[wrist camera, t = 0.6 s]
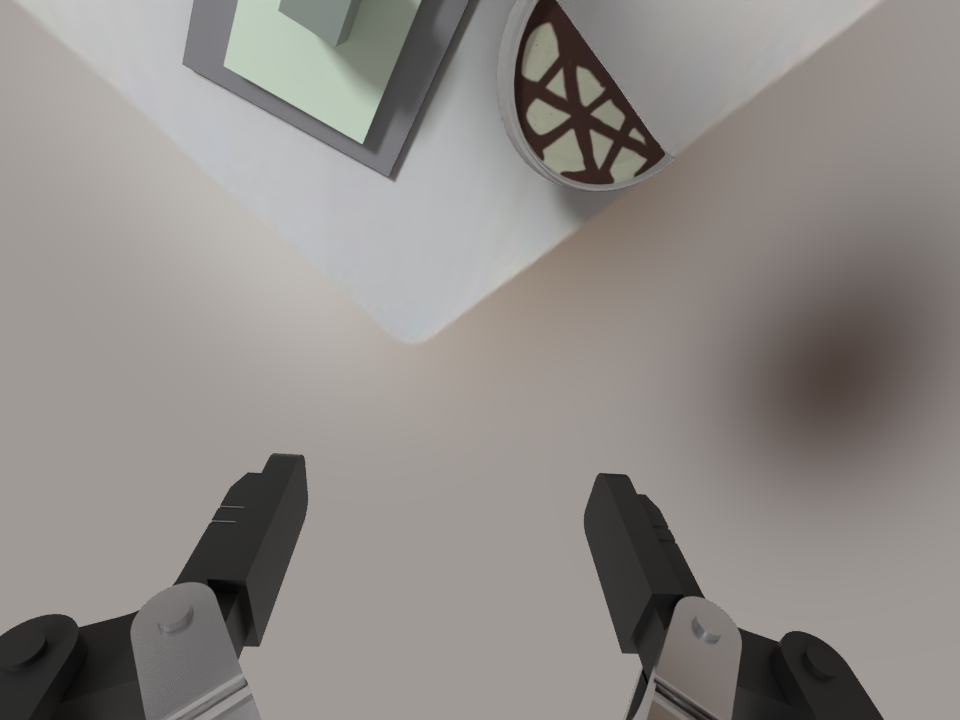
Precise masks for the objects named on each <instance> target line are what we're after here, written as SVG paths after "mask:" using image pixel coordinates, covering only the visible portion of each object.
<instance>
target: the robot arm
mask: <svg viewBox="0 0 960 720" xmlns="http://www.w3.org/2000/svg"><path fill="white" fill-rule="evenodd" d="M307 505H308V491H307V479H306V468H305V459H304V456H303V455H294V454H277V453H274V454H272V455H271V456H270V458H269V460H268V461H267V463H266V465H265V467H264V469H263V471H262V473H247V474H246V475H244V476H243V477H242V478H241V479H240V480H239V481H237V482H236V483H235V484H234V485H233V486H231V488H230V489H229V491H228V493H227V494H226V496H225V498H224V500H223V501H222V503H221V506H220V508H218V510H217V512H216V513H215V515H214V517H213V519H212V522H211V523H210V524H209V525H208V527H207V529H206V531H205V533H204V534H203V536H202V537H201V539H200V541H199V543H198V545H197V546H196V548H195V550H194V551H193V553H192V555H191V557H190V558H189V560H188V562H187V563H186V565H185V567H184V569H183V570H182V572H181V574H180V575H179V577H178V579H177V581H176V582H175V583H174V584H173V586H171V587H169V588H167V589H165V590H163V591H161V592H159V593H158V594H156V595H155V596H154V597H152V598H151V599H150V600H149V601H147V603H146V604H145V605H144V606H143V607H142V608H141V609H140V610H139V611H137V612H134V613H131V614H128V615H125V616H121V617H118V618H114V619H110V620H106V621H102V622H98V623H94V624H90V625H87V626H83V627H78V626H77V624H76V622H75V621H74V620H73V619H72V618H70V617H68V616H66V615H61V614H51V615H44V616H40V617H36V618H34V619H30V620H28V621H26V622H23V623H21V624H19V625H17V626H16V627H14V628H12V629H10V630H9V631H7V632H6V633H4V634H3V635H1V636H0V720H261V718H260V715H259V713H258V710H257V707H256V704H255V702H254V699H253V696H252V693H251V690H250V688H249V685H248V683H247V681H246V680H245V678H244V675H243V673H242V670H241V667H240V664H239V661H238V660H239V657H240V654H241V652H242V649H243V647H244V646H256V647H258V646H260V643H261V641H262V638H263V635H264V632H265V629H266V626H267V624H268V621H269V618H270V615H271V612H272V610H273V607H274V604H275V601H276V598H277V596H278V593H279V590H280V587H281V584H282V581H283V579H284V576H285V573H286V570H287V568H288V565H289V562H290V559H291V556H292V554H293V551H294V548H295V545H296V542H297V540H298V537H299V534H300V531H301V528H302V525H303V523H304V520H305V516H306V511H307ZM584 529H585V534H586V537H587V540H588V543H589V547H590V550H591V554H592V557H593V560H594V563H595V566H596V570H597V573H598V576H599V580H600V582H601V586H602V589H603V592H604V596H605V599H606V602H607V605H608V609H609V612H610V615H611V619H612V622H613V625H614V628H615V632H616V635H617V638H618V642H619V645H620V648H621V651H622V653H631V654H634V653H635V654H639V657H640V660H641V663H642V667H641V669H640V671H639V674H638V677H637V680H636V683H635V686H634V689H633V692H632V695H631V698H630V700H629V704H628V706H627V710H626V712H625V716H624V718H623V720H884V719H883V718H882V716H881V714H880V713H879V711H878V710H877V708H876V707H875V706H874V704H873V702H872V701H871V699H870V697H869V696H868V694H867V693H866V691H865V690H864V688H863V687H862V685H861V684H860V682H859V681H858V679H857V678H856V676H855V675H854V673H853V671H852V670H851V668H850V667H849V666H848V664H847V663H846V661H845V660H844V659H843V658H842V657H841V656H840V655H839V654H838V653H837V652H836V651H835V650H834V649H833V648H832V647H830V646H829V645H828V644H827V643H825V642H824V641H822V640H820V639H819V638H817V637H815V636H813V635H811V634H808V633H805V632H800V631H792V632H789V633H787V634H785V636H784V637H783V638H782V639H781V640H780V642H777V641H774V640H772V639H769V638H765V637H763V636H760V635H757V634H754V633H751V632H748V631H745V630H743V629H740V628H738V627H737V626H736V624H735V623H734V622H733V620H732V619H731V618H730V616H729V615H728V614H727V613H726V612H725V611H724V610H722V609H721V608H720V607H719V606H717V605H716V604H714V603H713V602H710V601H709V600H706V599H705V597H704V596H703V594H702V592H701V590H700V588H699V586H698V584H697V582H696V580H695V578H694V576H693V574H692V572H691V571H690V568H689V566H688V564H687V562H686V561H685V559H684V556H683V554H682V552H681V551H680V549H679V547H678V545H677V544H676V543H675V539H674V537H673V535H672V533H671V531H670V530H668V525H667V523H666V521H665V519H664V517H663V515H662V513H661V511H660V509H659V508H658V507H657V506H656V505H655V504H654V503H653V502H652V501H651V500H650V499H649V498H648V497H647V496H646V495H641V494H637V493H636V491H635V489H634V487H633V485H632V482H631V481H630V478H629V477H628V476H627V475H623V474H606V473H599V474H598V475H597V477H596V480H595V483H594V486H593V489H592V492H591V495H590V498H589V500H588V503H587V507H586V509H585V514H584Z"/></svg>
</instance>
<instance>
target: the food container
mask: <svg viewBox="0 0 960 720" xmlns="http://www.w3.org/2000/svg"><path fill="white" fill-rule="evenodd" d="M496 81H497V97H498V103H499V108H500V113H501V118H502V121H503V124H504V126H505V129H506V132H507V135H508V137H509V138H510V140H511V142H512V144H513V146H514V148H515V149H516V151H517V152H518V153H519V155H520V156H521V157H522V158H523V160H524V161H525V162H526V163H527V164H528V165H529V166H530V167H531V168H532V169H534V170H535V171H536V172H537V173H538V174H540V175H542V176H543V177H545V178H546V179H548V180H550V181H552V182H555V183H557V184H560V185H562V186H565V187H568V188H571V189H576V190H581V191H589V192H603V191H611V190H616V189H620V188H623V187H627V186H630V185H634V184H636V183H638V182H641V181H643V180H645V179H647V178H649V177H651V176H653V175H654V174H656V173H657V172H659V171H661V170H662V169H664V168H665V167H666V166H667V165H669V164H670V163H671V162H673V161H674V160H675V158H674V157H673V156H671V155H670V154H669V153H667V152H666V151H664V150H663V149H662V148H661V147H660V145H659V143H658V142H656V140H655V139H654V138H653V137H652V135H651V134H650V132H649V131H648V130H647V128H646V127H645V125H644V124H643V122H642V121H641V119H640V118H639V117H638V115H637V114H636V112H635V111H634V109H633V108H632V107H631V105H630V104H629V102H628V101H627V99H626V98H625V96H624V95H623V93H622V92H621V90H620V89H619V87H618V86H617V84H616V83H615V81H614V80H613V79H612V77H611V76H610V75H609V73H608V72H607V71H606V69H605V68H604V67H603V65H602V64H601V63H600V61H599V60H598V59H597V57H596V56H595V54H594V53H593V52H592V50H591V49H590V47H589V46H588V45H587V43H586V42H585V40H584V39H583V38H582V36H581V35H580V33H579V32H578V31H577V29H576V28H575V26H574V25H573V24H572V22H571V21H570V19H569V18H568V17H567V15H566V14H565V12H564V11H563V10H562V8H561V7H560V6H559V4H558V3H557V1H556V0H516V1H515V4H514V6H513V8H512V10H511V12H510V14H509V17H508V20H507V23H506V26H505V29H504V32H503V35H502V40H501V44H500V49H499V54H498V63H497V77H496Z"/></svg>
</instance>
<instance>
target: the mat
mask: <svg viewBox="0 0 960 720" xmlns="http://www.w3.org/2000/svg"><path fill="white" fill-rule="evenodd" d="M468 1H469V0H421V3H420V5H419V8H418V10H417V13H416V15H415V17H414V20H413V22H412V25H411V27H410V30H409V32H408V35H407V37H406V39H405V42H404V44H403V47H402V49H401V52H400V54H399V57H398V59H397V61H396V64H395V66H394V69H393V71H392V74H391V76H390V79H389V81H388V83H387V86H386V88H385V91H384V93H383V96H382V98H381V101H380V103H379V105H378V108H377V110H376V113H375V115H374V118H373V120H372V123H371V125H370V127H369V130H368V132H367V135H366V137H365V140H364V142H363V144H361V143H359V142H357V141H356V140H354V139H352V138H350V137H349V136H347V135H345V134H343V133H341V132H340V131H338V130H336V129H334V128H333V127H331V126H329V125H327V124H325V123H324V122H322V121H320V120H318V119H317V118H315V117H313V116H311V115H310V114H308V113H306V112H304V111H302V110H301V109H299V108H297V107H295V106H294V105H292V104H290V103H288V102H286V101H285V100H283V99H281V98H279V97H278V96H276V95H274V94H272V93H271V92H269V91H267V90H265V89H263V88H262V87H260V86H258V85H256V84H255V83H253V82H251V81H249V80H248V79H246V78H244V77H242V76H240V75H239V74H237V73H235V72H233V71H232V70H230V69H228V68H226V67H224V66H223V65H224V61H225V57H226V52H227V48H228V43H229V39H230V34H231V30H232V26H233V21H234V17H235V12H236V8H237V3H238V0H194V2H193V8H192V13H191V19H190V24H189V30H188V36H187V41H186V47H185V52H184V58H183V63H182V64H183V65H185V66H186V67H188V68H190V69H192V70H194V71H196V72H197V73H199V74H201V75H203V76H205V77H207V78H208V79H210V80H212V81H214V82H216V83H218V84H219V85H221V86H223V87H225V88H227V89H228V90H230V91H232V92H234V93H236V94H238V95H239V96H241V97H243V98H245V99H247V100H249V101H250V102H252V103H254V104H256V105H258V106H259V107H261V108H263V109H265V110H267V111H269V112H270V113H272V114H274V115H276V116H278V117H280V118H281V119H283V120H285V121H287V122H289V123H291V124H292V125H294V126H296V127H298V128H300V129H301V130H303V131H305V132H307V133H309V134H311V135H312V136H314V137H316V138H318V139H320V140H322V141H323V142H325V143H327V144H329V145H331V146H333V147H334V148H336V149H338V150H340V151H342V152H343V153H345V154H347V155H349V156H351V157H353V158H354V159H356V160H358V161H360V162H362V163H364V164H365V165H367V166H369V167H371V168H373V169H375V170H376V171H378V172H380V173H382V174H384V175H385V176H387V177H388V176H389V174H390V172H391V170H392V168H393V165H394V163H395V161H396V159H397V157H398V154H399V152H400V150H401V148H402V146H403V143H404V141H405V139H406V137H407V135H408V133H409V130H410V128H411V126H412V124H413V122H414V119H415V117H416V115H417V113H418V111H419V108H420V106H421V104H422V102H423V100H424V98H425V95H426V93H427V91H428V89H429V87H430V84H431V82H432V80H433V78H434V76H435V73H436V71H437V69H438V67H439V65H440V62H441V60H442V58H443V56H444V54H445V52H446V49H447V47H448V45H449V43H450V41H451V38H452V36H453V34H454V32H455V30H456V27H457V25H458V23H459V21H460V19H461V17H462V14H463V12H464V10H465V8H466V6H467V3H468Z"/></svg>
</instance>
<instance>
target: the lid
mask: <svg viewBox="0 0 960 720" xmlns="http://www.w3.org/2000/svg"><path fill="white" fill-rule="evenodd" d="M420 3H421V0H238V3H237V8H236V12H235V17H234V21H233V26H232V30H231V34H230V39H229V43H228V48H227V52H226V57H225V61H224V65H223V66H224V67H226V68H228V69H230V70H232V71H233V72H235V73H237V74H239V75H240V76H242V77H244V78H246V79H248V80H249V81H251V82H253V83H255V84H256V85H258V86H260V87H262V88H263V89H265V90H267V91H269V92H271V93H272V94H274V95H276V96H278V97H279V98H281V99H283V100H285V101H286V102H288V103H290V104H292V105H294V106H295V107H297V108H299V109H301V110H302V111H304V112H306V113H308V114H310V115H311V116H313V117H315V118H317V119H318V120H320V121H322V122H324V123H325V124H327V125H329V126H331V127H333V128H334V129H336V130H338V131H340V132H341V133H343V134H345V135H347V136H349V137H350V138H352V139H354V140H356V141H357V142H359V143H361V144H363V142H364V140H365V137H366V135H367V132H368V130H369V127H370V125H371V123H372V120H373V118H374V115H375V113H376V110H377V108H378V105H379V103H380V101H381V98H382V96H383V93H384V91H385V88H386V86H387V83H388V81H389V79H390V76H391V74H392V71H393V69H394V66H395V64H396V61H397V59H398V57H399V54H400V52H401V49H402V47H403V44H404V42H405V39H406V37H407V35H408V32H409V30H410V27H411V25H412V22H413V20H414V17H415V15H416V13H417V10H418V8H419V5H420Z"/></svg>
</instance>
